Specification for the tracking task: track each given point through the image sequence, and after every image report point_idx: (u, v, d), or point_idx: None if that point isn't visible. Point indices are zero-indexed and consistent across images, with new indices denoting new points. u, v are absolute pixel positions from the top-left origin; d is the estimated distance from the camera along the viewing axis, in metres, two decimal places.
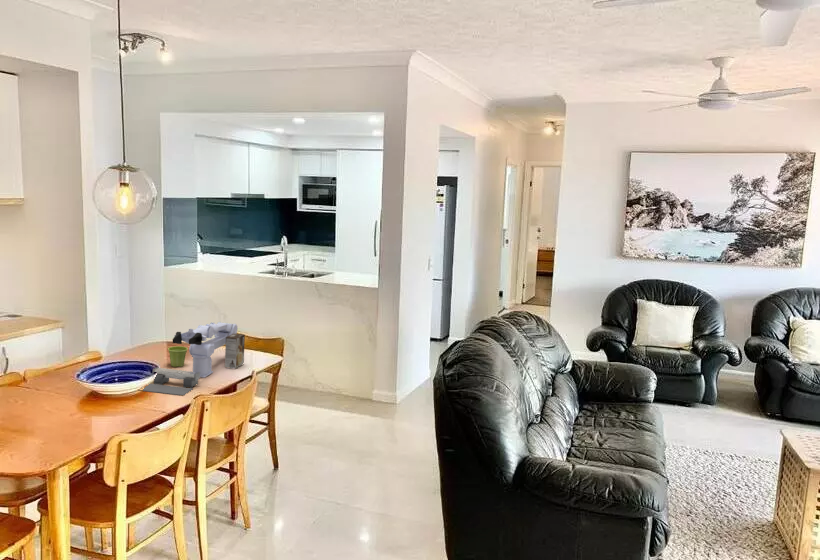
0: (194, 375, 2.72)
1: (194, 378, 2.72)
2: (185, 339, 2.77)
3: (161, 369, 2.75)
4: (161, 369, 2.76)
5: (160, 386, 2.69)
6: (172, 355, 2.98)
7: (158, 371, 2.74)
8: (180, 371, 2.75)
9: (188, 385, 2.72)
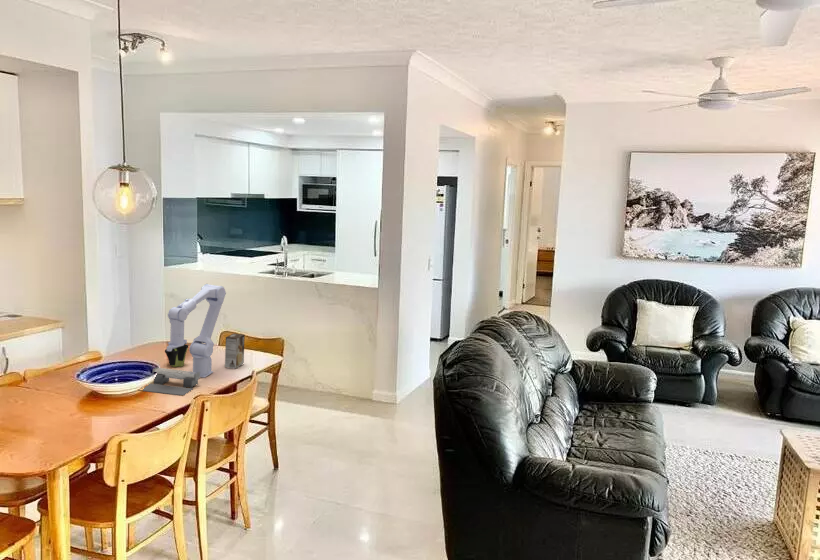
0: (194, 375, 2.72)
1: (194, 378, 2.72)
2: None
3: (161, 369, 2.75)
4: (161, 369, 2.76)
5: (160, 386, 2.69)
6: None
7: (158, 371, 2.74)
8: (180, 371, 2.75)
9: (188, 385, 2.72)
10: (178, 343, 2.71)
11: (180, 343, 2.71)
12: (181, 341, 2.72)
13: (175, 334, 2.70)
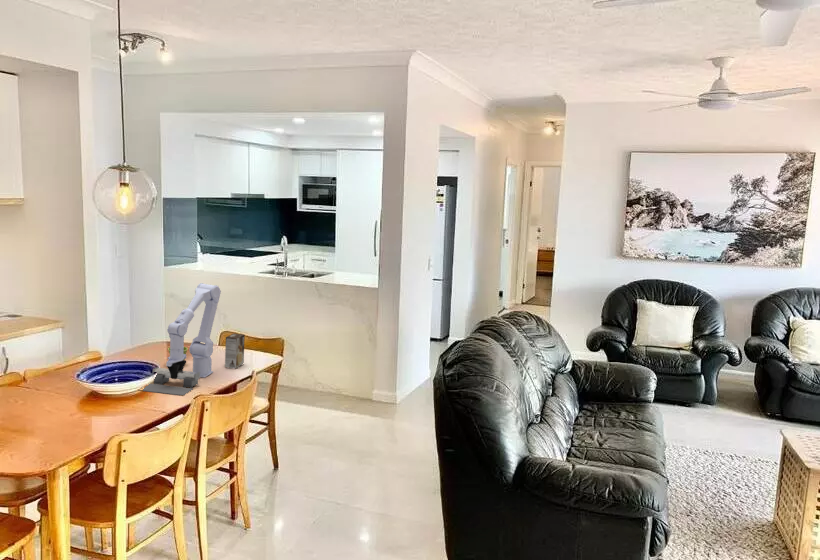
0: (194, 375, 2.72)
1: (194, 378, 2.72)
2: None
3: (161, 369, 2.75)
4: (161, 369, 2.76)
5: (160, 386, 2.69)
6: None
7: (158, 371, 2.74)
8: (180, 371, 2.75)
9: (188, 385, 2.72)
10: (178, 358, 2.72)
11: (180, 358, 2.72)
12: (181, 356, 2.73)
13: (175, 349, 2.71)
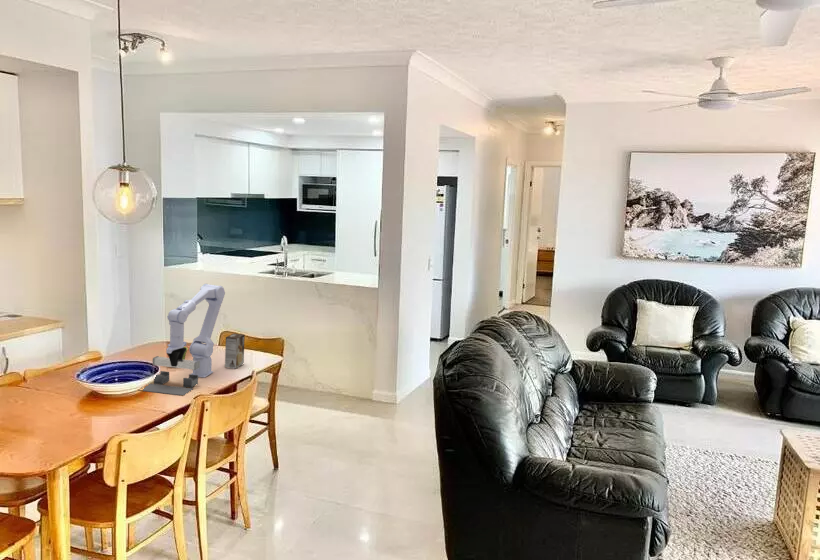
0: (194, 364, 2.71)
1: (194, 367, 2.71)
2: None
3: (161, 358, 2.74)
4: (161, 358, 2.75)
5: (160, 386, 2.69)
6: None
7: (158, 360, 2.73)
8: (180, 360, 2.74)
9: (188, 385, 2.72)
10: (178, 345, 2.70)
11: (180, 345, 2.71)
12: (181, 343, 2.71)
13: (175, 336, 2.69)
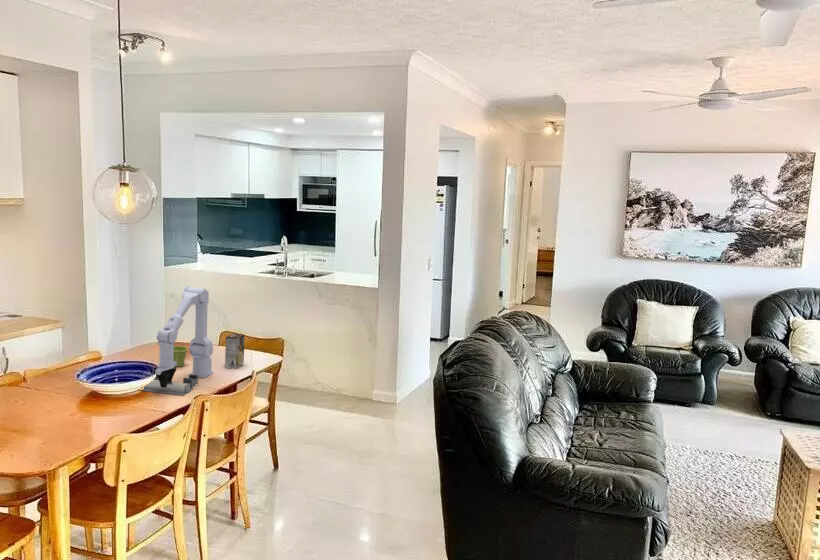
0: (184, 387, 2.63)
1: (185, 390, 2.64)
2: None
3: None
4: None
5: None
6: None
7: None
8: (170, 382, 2.66)
9: None
10: (167, 366, 2.63)
11: (169, 366, 2.63)
12: (170, 364, 2.64)
13: (165, 357, 2.62)
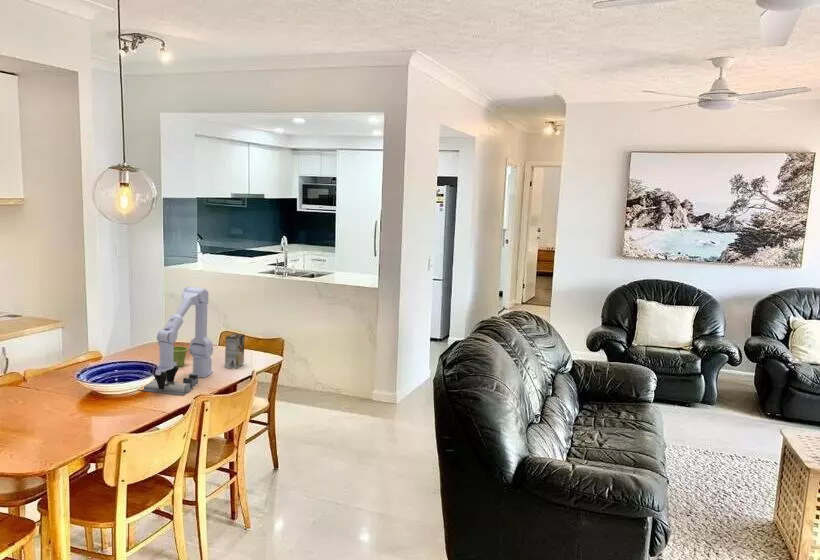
0: (184, 387, 2.63)
1: (185, 390, 2.64)
2: None
3: None
4: None
5: None
6: None
7: None
8: (170, 382, 2.66)
9: None
10: (167, 366, 2.63)
11: (169, 366, 2.63)
12: (170, 364, 2.64)
13: (165, 357, 2.62)
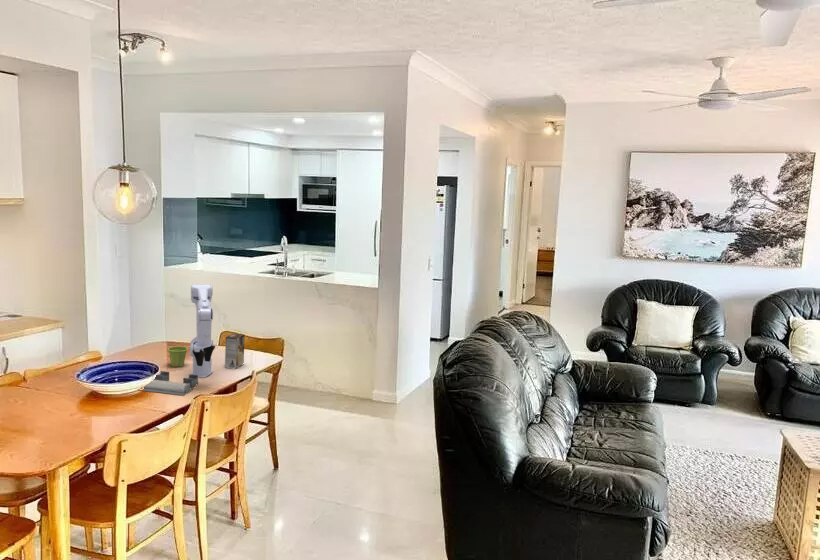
0: (184, 387, 2.63)
1: (185, 390, 2.64)
2: None
3: None
4: None
5: None
6: (172, 355, 2.98)
7: None
8: (170, 382, 2.66)
9: None
10: (205, 344, 2.71)
11: (207, 344, 2.72)
12: (208, 342, 2.72)
13: (207, 335, 2.71)
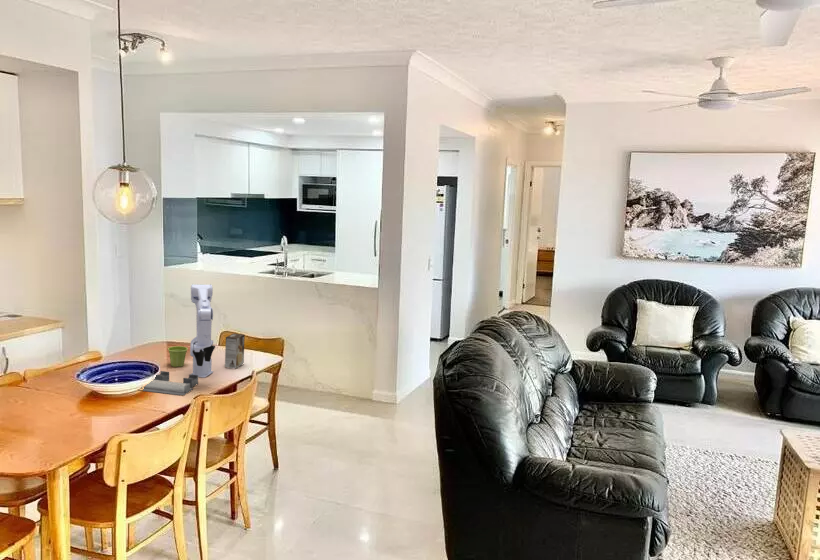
0: (184, 387, 2.63)
1: (185, 390, 2.64)
2: None
3: None
4: None
5: None
6: (172, 355, 2.98)
7: None
8: (170, 382, 2.66)
9: None
10: (205, 344, 2.71)
11: (207, 344, 2.72)
12: (208, 342, 2.72)
13: (208, 335, 2.71)
